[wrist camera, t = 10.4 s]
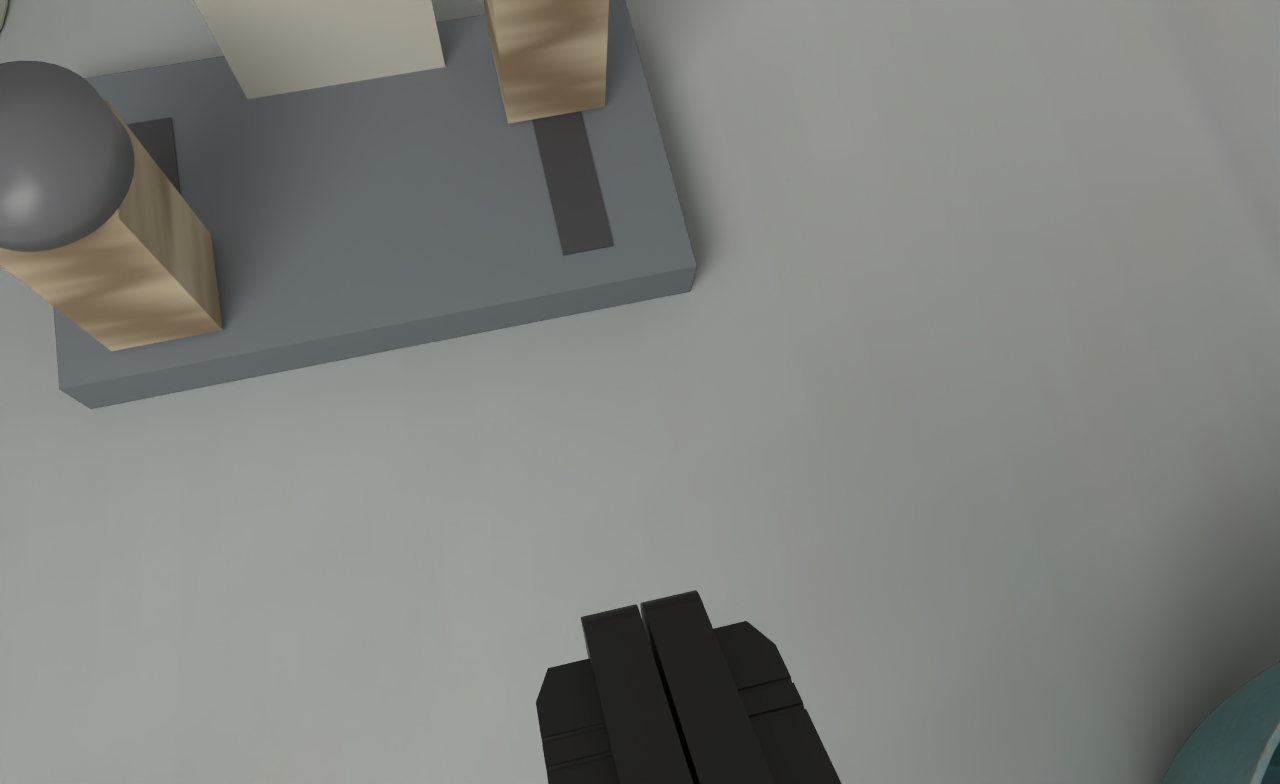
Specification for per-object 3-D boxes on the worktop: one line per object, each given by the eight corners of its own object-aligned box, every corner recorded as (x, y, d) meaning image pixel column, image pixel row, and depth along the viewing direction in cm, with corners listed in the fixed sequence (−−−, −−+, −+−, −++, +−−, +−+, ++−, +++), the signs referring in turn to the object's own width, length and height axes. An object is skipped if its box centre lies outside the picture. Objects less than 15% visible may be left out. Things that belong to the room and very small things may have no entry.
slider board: (90, 408, 40) (-54, 318, 31) (66, 120, 44) (-69, -37, 34) (690, 291, 43) (719, 177, 34) (620, 29, 46) (630, -137, 37)
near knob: (96, 369, 38) (-83, 242, 27) (85, 242, 39) (-89, 77, 29) (240, 341, 38) (118, 207, 28) (225, 217, 40) (103, 47, 30)
